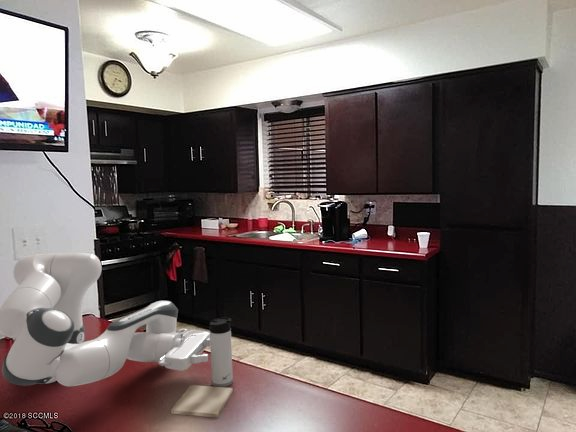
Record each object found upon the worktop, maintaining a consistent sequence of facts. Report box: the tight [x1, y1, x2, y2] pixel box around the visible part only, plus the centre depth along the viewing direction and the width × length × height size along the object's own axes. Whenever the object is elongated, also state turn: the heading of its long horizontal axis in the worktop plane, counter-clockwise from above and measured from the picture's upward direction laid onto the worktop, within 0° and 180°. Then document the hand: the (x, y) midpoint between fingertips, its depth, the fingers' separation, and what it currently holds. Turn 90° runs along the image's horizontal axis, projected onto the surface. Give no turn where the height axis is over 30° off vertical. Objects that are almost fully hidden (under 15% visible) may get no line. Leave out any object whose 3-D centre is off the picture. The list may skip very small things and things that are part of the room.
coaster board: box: [170, 384, 234, 418], centre depth 117 cm, size 13×13×1 cm
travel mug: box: [209, 317, 234, 388], centre depth 126 cm, size 6×7×20 cm
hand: (214, 351), depth 127 cm, fingers open, 8 cm apart
